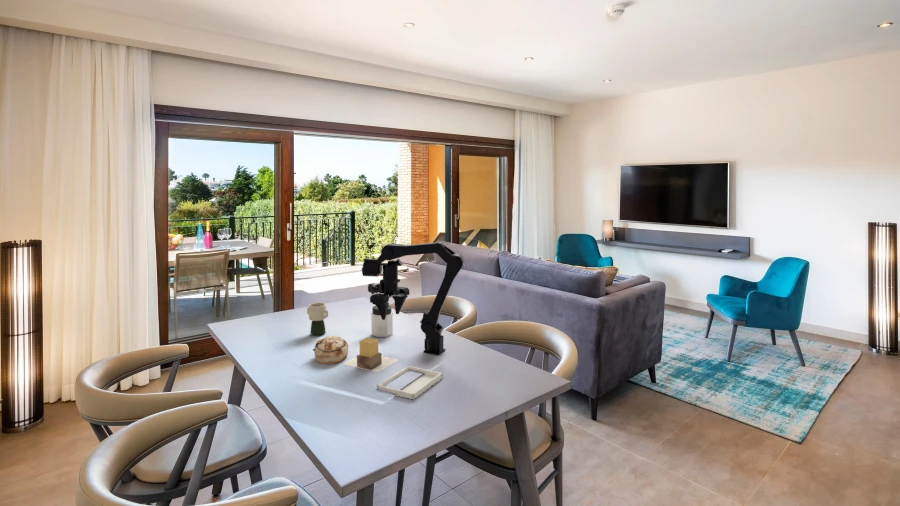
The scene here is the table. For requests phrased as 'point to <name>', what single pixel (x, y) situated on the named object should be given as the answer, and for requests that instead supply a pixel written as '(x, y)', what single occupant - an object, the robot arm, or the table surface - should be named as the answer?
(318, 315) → the character mug
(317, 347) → the trinket box
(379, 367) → the building board
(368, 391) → the table surface
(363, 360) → the walnut brick
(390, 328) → the jar
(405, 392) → the cream rectangular tray
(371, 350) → the ochre brick
